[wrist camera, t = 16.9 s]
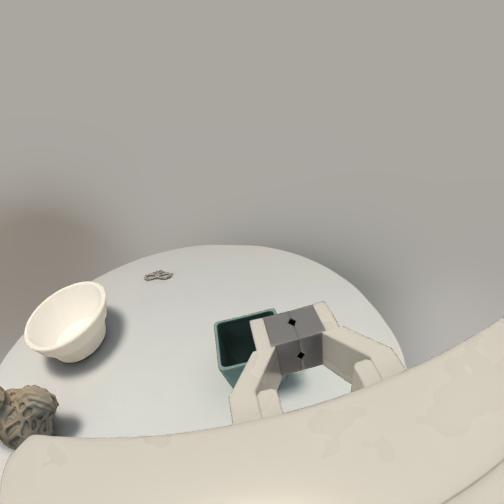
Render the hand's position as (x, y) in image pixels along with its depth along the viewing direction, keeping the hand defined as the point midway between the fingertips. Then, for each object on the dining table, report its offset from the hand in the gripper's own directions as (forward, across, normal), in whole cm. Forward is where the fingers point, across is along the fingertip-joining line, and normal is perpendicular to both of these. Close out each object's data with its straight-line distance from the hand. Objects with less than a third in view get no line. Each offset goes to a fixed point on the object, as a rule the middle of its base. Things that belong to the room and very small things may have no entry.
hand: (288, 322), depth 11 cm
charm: (+54, +21, +28) cm, 64 cm away
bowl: (+35, +38, +28) cm, 59 cm away
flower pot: (+19, +2, +28) cm, 34 cm away
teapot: (+11, +43, +28) cm, 53 cm away
